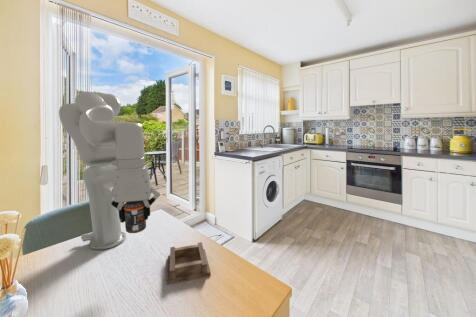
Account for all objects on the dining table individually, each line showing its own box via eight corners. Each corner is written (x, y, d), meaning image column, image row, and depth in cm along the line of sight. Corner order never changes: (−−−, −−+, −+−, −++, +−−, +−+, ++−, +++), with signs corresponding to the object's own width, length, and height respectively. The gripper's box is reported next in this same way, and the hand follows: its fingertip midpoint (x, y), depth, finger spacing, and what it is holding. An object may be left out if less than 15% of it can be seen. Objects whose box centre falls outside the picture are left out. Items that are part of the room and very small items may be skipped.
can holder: (166, 284, 62) (166, 272, 61) (168, 258, 74) (167, 247, 73) (210, 275, 65) (210, 263, 65) (204, 251, 78) (204, 241, 77)
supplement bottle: (141, 234, 64) (138, 199, 62) (121, 234, 64) (118, 198, 62) (149, 225, 70) (147, 192, 68) (131, 224, 70) (129, 192, 68)
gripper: (94, 167, 57) (100, 228, 60) (160, 164, 62) (163, 221, 65) (102, 162, 64) (108, 217, 67) (162, 160, 69) (164, 211, 72)
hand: (135, 218), depth 66 cm, fingers closed on supplement bottle, 6 cm apart
